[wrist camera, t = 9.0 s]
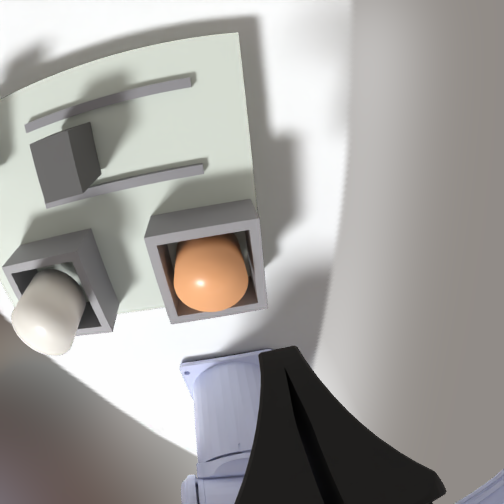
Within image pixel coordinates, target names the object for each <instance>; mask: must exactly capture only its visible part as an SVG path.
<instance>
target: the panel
mask: <svg viewBox="0 0 504 504" xmlns="http://www.w3.org/2000/svg"><path fill="white" fill-rule="evenodd" d="M87 122H90V123H91V128H92V133H93V138H94V142H95V147H96V151H97V156H98V160H99V165H100V169H101V173H102V174H101V175H100V176H99V177H98V178H97V179H96V180H95V181H94V183H93V184H92V185H91V186H90V187H89V188H88V189H87V190H86V191H85V192H84V193H83V194H80V195H76V196H72V197H68V198H65V199H61V200H57V201H54V202H50V203H47V204H46V203H45V200H44V197H43V193H42V190H41V187H40V183H39V180H38V176H37V173H36V169H35V165H34V161H33V157H32V153H31V149H30V145H29V144H31V143H33V142H36V141H38V140H40V139H42V138H45V137H47V136H49V135H52V134H54V133H57V132H60V131H62V130H65V129H68V128H71V127H75V126H78V125H81V124H84V123H87ZM227 233H234V235H235V236H236V237H237V239H238V241H239V244H240V248H241V252H242V255H243V259H244V263H245V267H246V270H247V274H248V287H247V290H246V292H245V294H244V296H243V297H242V298H241V299H240V300H239V301H238V302H237V303H236V304H235V305H233V306H231V307H230V308H227V309H225V310H222V311H217V312H203V311H198V310H195V309H193V308H190V307H189V306H187V305H186V304H184V303H183V302H182V301H181V300H180V298H179V297H178V296H177V294H176V291H175V288H174V272H175V260H176V249H177V244H178V242H180V241H185V240H191V239H197V238H203V237H209V236H215V235H221V234H227ZM44 269H56V270H60V271H62V272H64V273H66V274H68V275H69V276H71V277H72V278H73V279H74V280H75V281H76V282H77V283H78V284H79V285H80V287H81V288H82V290H83V292H84V295H85V299H86V306H85V309H84V312H83V315H82V317H81V320H80V323H79V326H78V328H77V331H76V334H75V336H79V335H89V334H98V333H107V332H113V328H114V324H115V320H116V316H117V314H122V313H129V312H137V311H144V310H151V309H157V308H164V307H165V308H166V311H167V314H168V316H169V319H170V322H171V324H177V323H183V322H190V321H196V320H203V319H209V318H215V317H221V316H227V315H233V314H239V313H244V312H250V311H256V310H261V309H266V308H268V304H267V293H266V282H265V271H264V261H263V250H262V240H261V229H260V219H259V216H258V212H257V202H256V192H255V182H254V172H253V163H252V153H251V144H250V134H249V125H248V115H247V106H246V97H245V88H244V78H243V69H242V60H241V51H240V43H239V34H238V32H235V33H225V34H216V35H207V36H200V37H193V38H187V39H181V40H175V41H170V42H164V43H159V44H155V45H150V46H146V47H141V48H137V49H133V50H129V51H125V52H121V53H118V54H114V55H111V56H107V57H104V58H100V59H97V60H94V61H91V62H88V63H85V64H82V65H79V66H76V67H73V68H70V69H68V70H65V71H62V72H60V73H57V74H55V75H52V76H50V77H47V78H45V79H42V80H40V81H38V82H35V83H33V84H31V85H29V86H26V87H24V88H22V89H20V90H18V91H16V92H14V93H12V94H10V95H8V96H6V97H4V98H2V99H0V282H1V284H2V286H3V288H4V290H5V291H6V293H7V295H8V297H9V299H10V301H11V303H12V304H13V306H14V308H15V307H16V305H17V303H18V301H19V300H20V298H21V296H22V295H23V293H24V292H25V290H26V288H27V287H28V285H29V284H30V282H31V280H32V279H33V277H34V276H35V275H36V274H37V273H38V272H39V271H41V270H44Z"/></svg>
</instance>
